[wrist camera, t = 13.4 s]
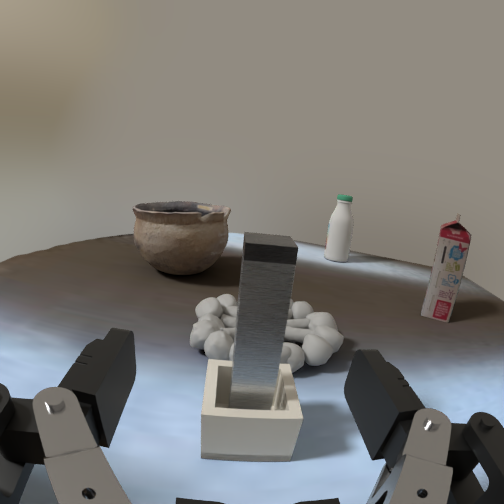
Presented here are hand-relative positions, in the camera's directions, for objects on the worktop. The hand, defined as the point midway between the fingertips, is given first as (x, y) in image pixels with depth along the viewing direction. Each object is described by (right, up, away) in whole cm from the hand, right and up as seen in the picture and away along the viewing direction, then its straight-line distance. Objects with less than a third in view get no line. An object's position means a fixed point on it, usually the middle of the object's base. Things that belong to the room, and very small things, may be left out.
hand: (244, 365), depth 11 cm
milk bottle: (+26, +2, +87) cm, 90 cm away
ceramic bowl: (-17, 0, +62) cm, 64 cm away
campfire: (+2, -10, +35) cm, 36 cm away
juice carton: (+40, -10, +49) cm, 64 cm away
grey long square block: (0, -13, +17) cm, 21 cm away
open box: (0, -14, +17) cm, 22 cm away
